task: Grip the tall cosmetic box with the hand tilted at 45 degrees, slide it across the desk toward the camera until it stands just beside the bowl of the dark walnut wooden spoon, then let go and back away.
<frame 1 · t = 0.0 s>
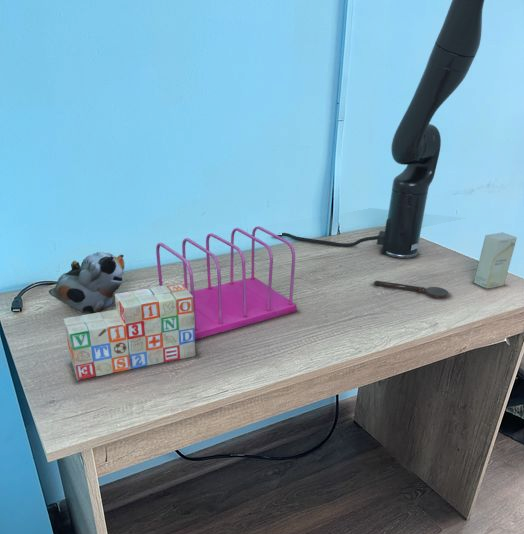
cosmetic box: (488, 284, 130), on the table
file sorter: (226, 310, 115), on the table
lucky cat figurine: (92, 302, 117), on the table
spoon: (436, 294, 124), on the table
stack of blocks: (135, 360, 97), on the table
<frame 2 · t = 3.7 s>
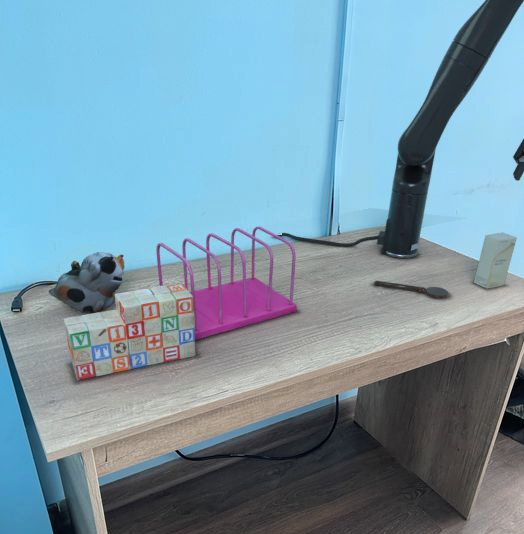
nothing on the table moved.
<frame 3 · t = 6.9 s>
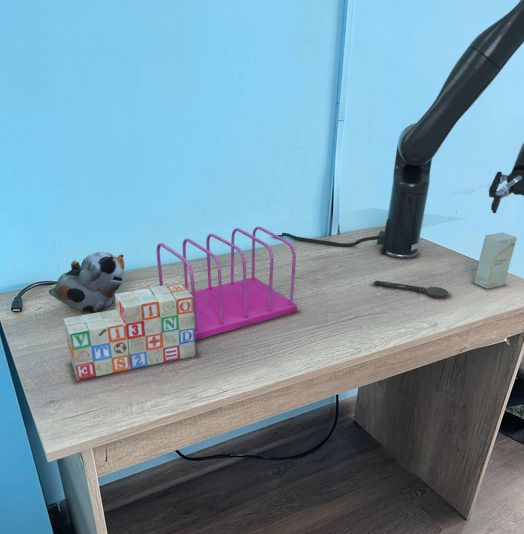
hand: (512, 214, 128), 15 cm above the table, tool tilted 45°, fingers open, 8 cm apart
nothing on the table moved.
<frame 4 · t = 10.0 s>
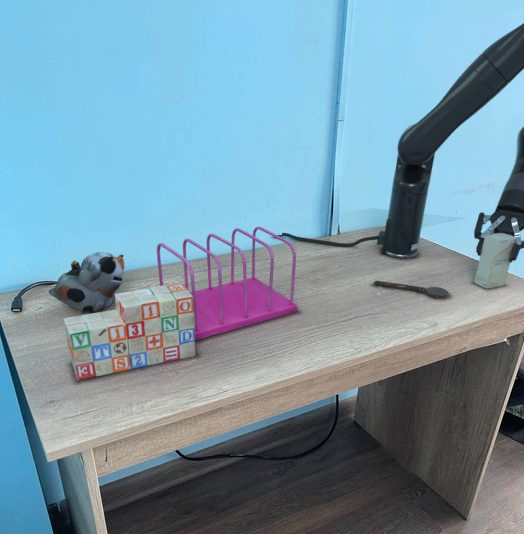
hand: (494, 257, 125), 7 cm above the table, tool tilted 45°, fingers closed on cosmetic box, 6 cm apart
cosmetic box: (488, 284, 130), on the table, touching gripper
everything else where it was.
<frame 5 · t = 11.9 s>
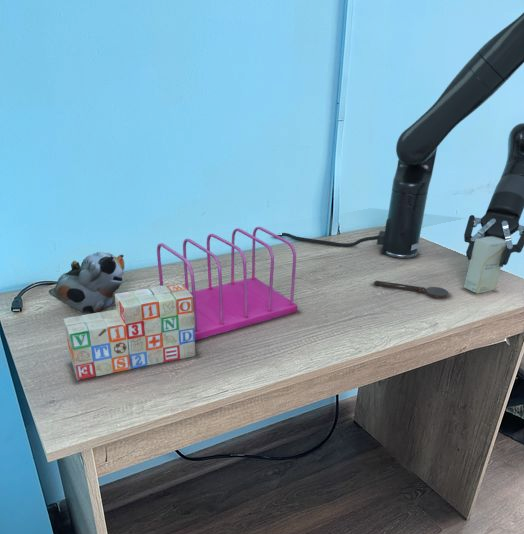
hand: (485, 261, 122), 8 cm above the table, tool tilted 45°, fingers closed on cosmetic box, 6 cm apart
cosmetic box: (479, 289, 127), on the table, touching gripper
everything else where it was.
when the fingers open (7 cm above the table, at t = 14.0 s): cosmetic box stays where it is, on the table.
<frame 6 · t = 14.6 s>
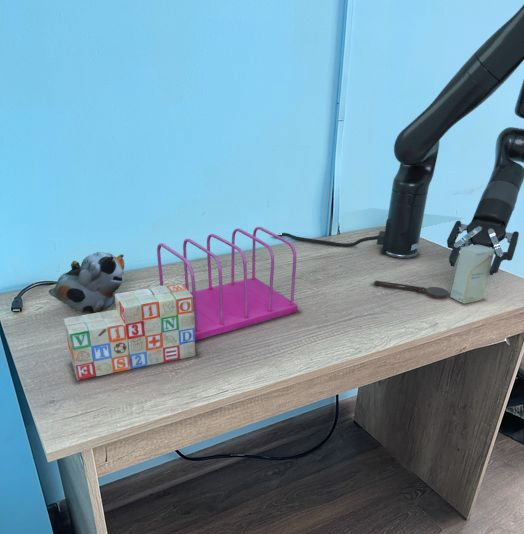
hand: (471, 269, 118), 8 cm above the table, tool tilted 45°, fingers open, 8 cm apart
cosmetic box: (465, 299, 123), on the table
everything else where it was.
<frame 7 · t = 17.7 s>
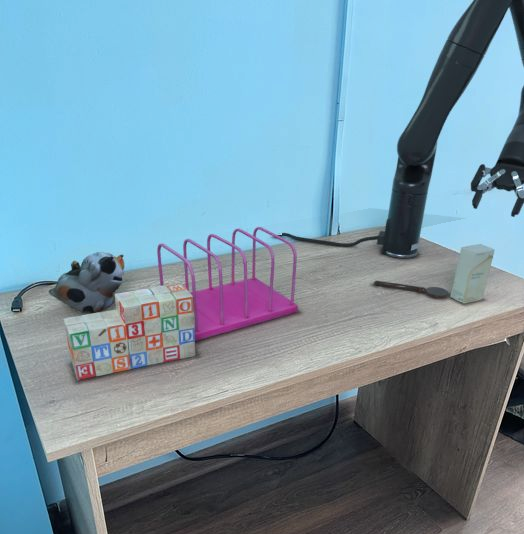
hand: (493, 211, 122), 18 cm above the table, tool tilted 45°, fingers open, 8 cm apart
nothing on the table moved.
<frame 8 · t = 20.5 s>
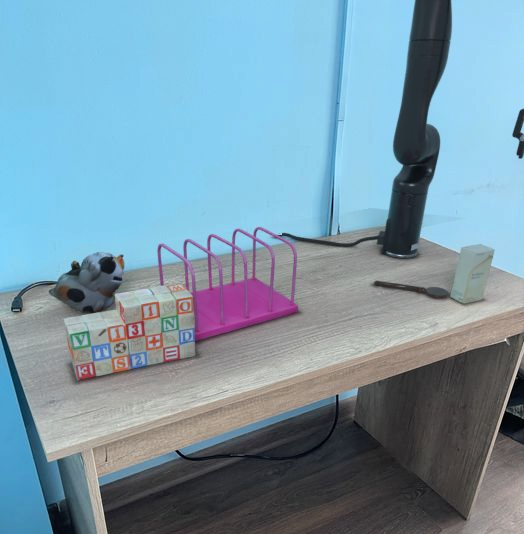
nothing on the table moved.
at the end: cosmetic box 6.7 cm from the spoon (horizontally); cosmetic box tilted 0°; the gripper is holding nothing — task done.
